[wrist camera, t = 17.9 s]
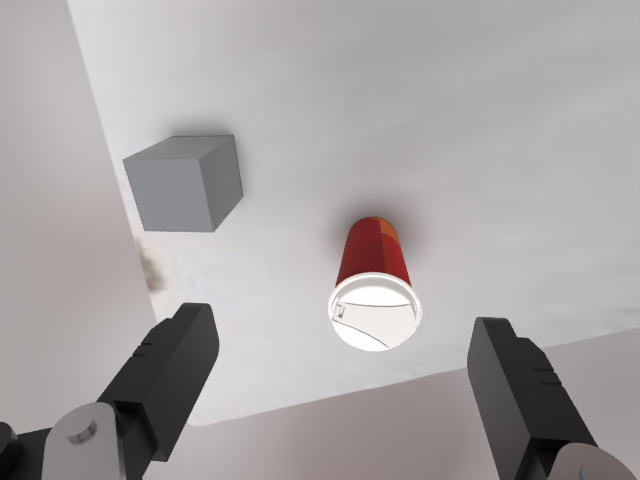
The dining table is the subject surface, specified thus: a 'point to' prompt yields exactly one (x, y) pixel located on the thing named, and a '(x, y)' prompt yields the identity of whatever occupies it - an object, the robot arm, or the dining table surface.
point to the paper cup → (373, 290)
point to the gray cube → (185, 183)
